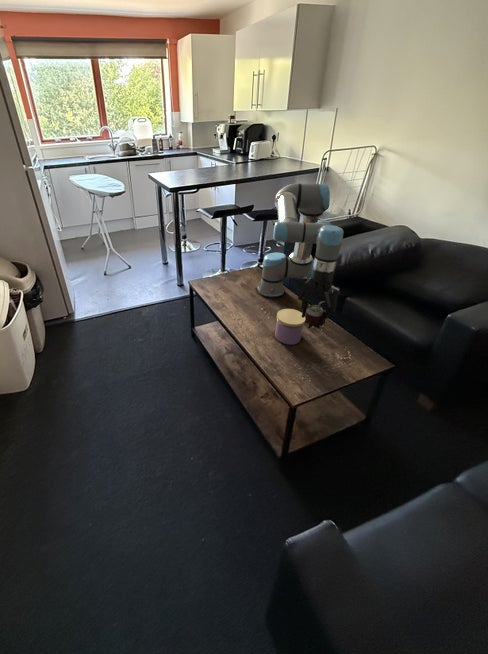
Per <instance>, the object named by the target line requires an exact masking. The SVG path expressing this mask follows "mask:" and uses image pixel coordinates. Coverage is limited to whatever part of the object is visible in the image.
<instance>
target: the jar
mask: <svg viewBox="0 0 488 654" xmlns="http://www.w3.org/2000/svg"><path fill="white" fill-rule="evenodd" d="M305 321H306V319H305V317H304V318H302V312H301V311H299V310H297V309H294V308H283V309H280V310H278V312H277V314H276V323H275V330H274V331H275V332H274V337H275V339H276V340H277V341H278V342H279V343H282V344H285V345H296V344H299V343H300V342H301V340H302V336H303V331H304V326H305V324H306V323H305Z"/></svg>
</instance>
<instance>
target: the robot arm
mask: <svg viewBox="0 0 488 654" xmlns="http://www.w3.org/2000/svg"><path fill="white" fill-rule="evenodd" d="M330 200H331V192H330V187H329V185H328V184H326V183H319V182H318V183H299V182H298V183H297V182H295V183H290V184H287V185H285V186H284V187H282V188H280V189H279V191H278V192H277V193H276V195H275V197H274V206H275V209H277V221H276V222H275V223H274V226H273V235H272V237H273V238H272V239H273V241H274V242H280V243H294V248H293V251H292V252H291V253H290V254H289V256H286V254H285V253H283V252H271V253H268V254H266V255H265V256H264V258H263V261H262V273H261V280H260V281H259V283H258V286H257V293H258V294H259V295H260V296H262V297H265V298H270V299H273V298H276V299H277V298H280V297H282V296H283V295H284V293H285V287H284V282H283V278H286V279H299V280H301V281H302V282H301V283H302V284H301V288H300V290H299V293H298V297H297V299H298V300H299V301H301V307H300V309H301V310H302V312H301V313H302V318H304V317H305V311H306V309H307V308H308V307H309V306H310V301H309V299H310V298H311V296H312V295H313V294H314V292H318V293H320V294H321V297H322V301H325V302H323V307H324V309H323V313H322V317H321V321H320V326H319V327H323V325H325V324H326V320H328V319H329V317H330V314H334V313H335V312H336V310H337V306H338V305H337V304H338V295H339V292H340V290H341V288H340V287H336V286H335V285H334V283H333V280H334V278H335V277H334V276H335V273H336V272H335V270H336V268H337V264H338V260H339V255H340V251H341V248H342V247H341V246H342V243H343V240H344V238H343V237H344V229H343V228H342V227H339V226H337V225H333V224H332V223H331V222H329V221H328V220H325V219H322V220H319V218H320V217H321V216H323V215H324V211H327V210H329V208H330ZM297 210H298V211H297ZM297 212H298V213H299V215H300V217H299V219H298V214H297ZM313 244H316V249H315V255H314V258H313V256H312V254H311V253H312V249H313ZM309 284H310V285H311V287H310V288H309V290H308V291H307V289H308V286H309ZM330 290H331V291H330ZM306 292H307V293H306ZM330 292H331V298H330V295H329V293H330Z"/></svg>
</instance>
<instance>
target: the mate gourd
mask: <svg viewBox="0 0 488 654" xmlns="http://www.w3.org/2000/svg"><path fill="white" fill-rule="evenodd" d="M324 302H325V301H323V300H322V301H319V303H318V305H317V304H311V305H309V306H308V308H307V309H306V311H305V323H304V324H308V326H307V329H311V328H313V327H314V328H317V329H320V328H321V326H320V321H321V317H322V313H323V311H324V309H323V307H321V305H322V303H323V304H324Z"/></svg>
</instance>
